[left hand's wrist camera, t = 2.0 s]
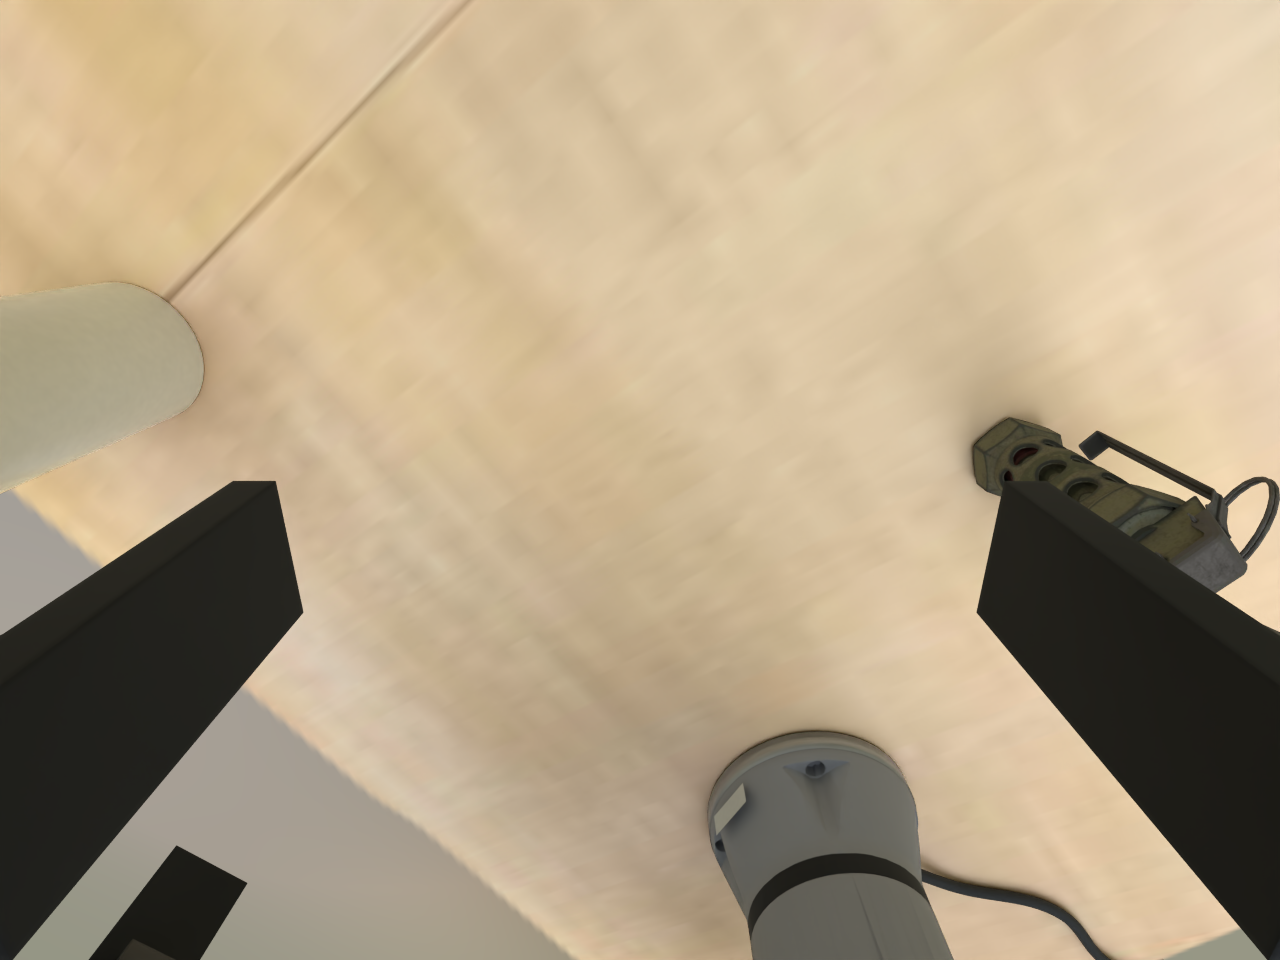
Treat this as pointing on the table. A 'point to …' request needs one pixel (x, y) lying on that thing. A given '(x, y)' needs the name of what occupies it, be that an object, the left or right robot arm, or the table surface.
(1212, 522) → the grenade
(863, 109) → the table surface
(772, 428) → the table surface
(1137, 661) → the left robot arm
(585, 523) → the table surface
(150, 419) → the jar
